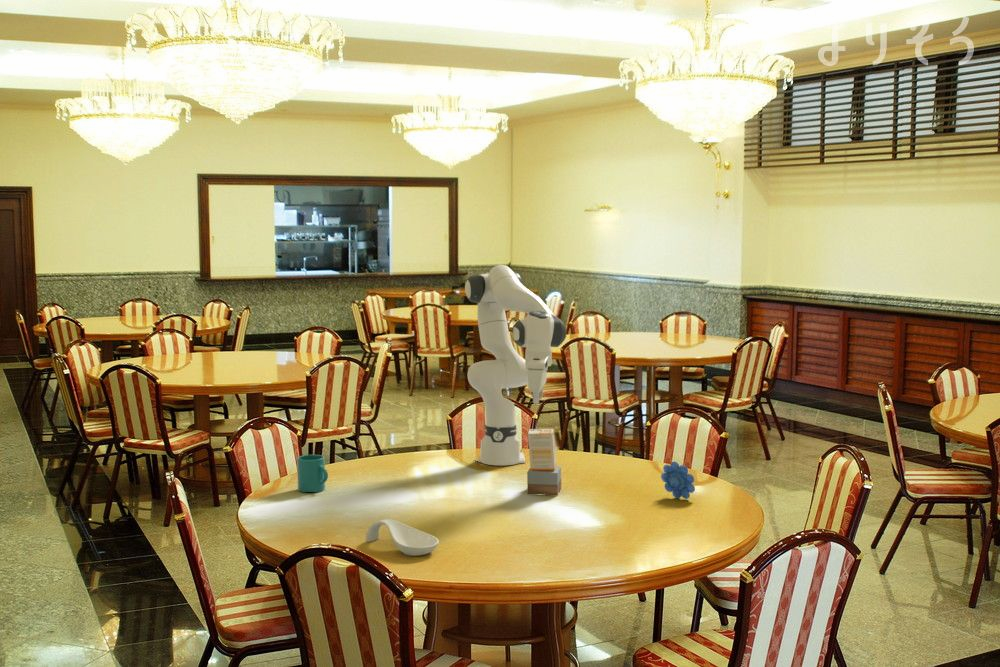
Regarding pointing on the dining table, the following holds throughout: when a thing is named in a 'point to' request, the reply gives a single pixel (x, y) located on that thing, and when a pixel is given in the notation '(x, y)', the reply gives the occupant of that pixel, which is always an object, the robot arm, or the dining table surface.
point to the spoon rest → (404, 537)
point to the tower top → (544, 476)
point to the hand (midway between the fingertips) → (537, 400)
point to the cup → (311, 473)
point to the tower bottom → (544, 489)
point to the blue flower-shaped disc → (678, 480)
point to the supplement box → (542, 449)
